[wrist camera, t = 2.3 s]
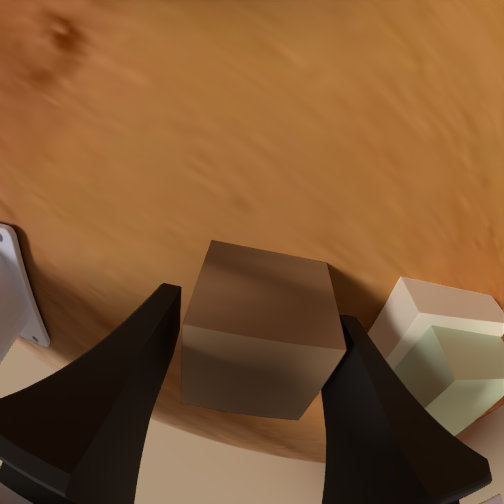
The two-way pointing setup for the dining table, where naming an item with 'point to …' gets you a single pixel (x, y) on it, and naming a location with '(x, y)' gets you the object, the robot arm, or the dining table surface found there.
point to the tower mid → (454, 375)
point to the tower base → (430, 316)
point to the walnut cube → (259, 333)
